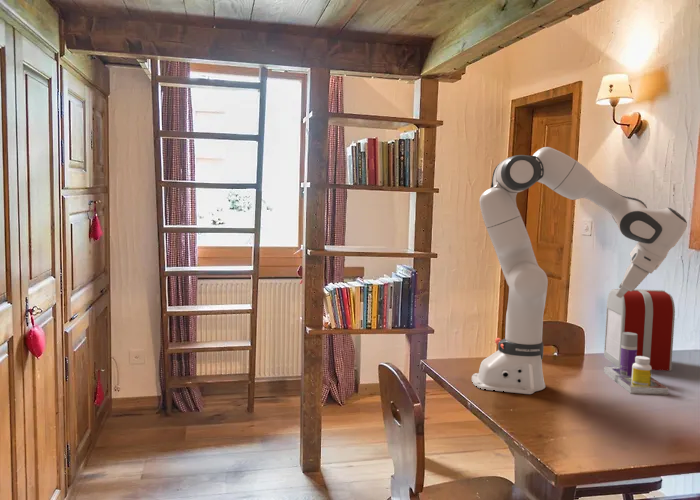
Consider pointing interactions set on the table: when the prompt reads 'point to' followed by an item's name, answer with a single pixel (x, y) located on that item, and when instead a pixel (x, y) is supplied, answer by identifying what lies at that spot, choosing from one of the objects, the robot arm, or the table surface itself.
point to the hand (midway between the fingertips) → (619, 292)
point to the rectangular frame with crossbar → (636, 389)
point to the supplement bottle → (641, 371)
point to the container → (628, 353)
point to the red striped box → (641, 325)
